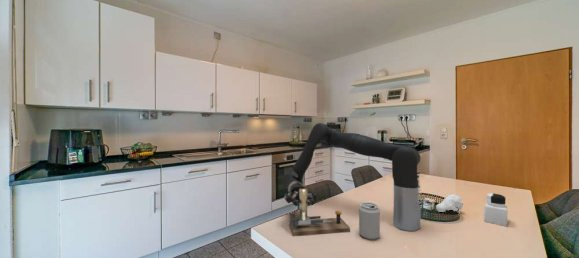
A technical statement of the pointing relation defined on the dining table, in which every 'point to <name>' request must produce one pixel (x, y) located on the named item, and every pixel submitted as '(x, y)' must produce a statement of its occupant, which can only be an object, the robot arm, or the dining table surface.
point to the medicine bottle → (495, 209)
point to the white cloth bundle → (450, 203)
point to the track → (319, 226)
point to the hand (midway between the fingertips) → (304, 203)
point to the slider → (305, 210)
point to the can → (369, 220)
